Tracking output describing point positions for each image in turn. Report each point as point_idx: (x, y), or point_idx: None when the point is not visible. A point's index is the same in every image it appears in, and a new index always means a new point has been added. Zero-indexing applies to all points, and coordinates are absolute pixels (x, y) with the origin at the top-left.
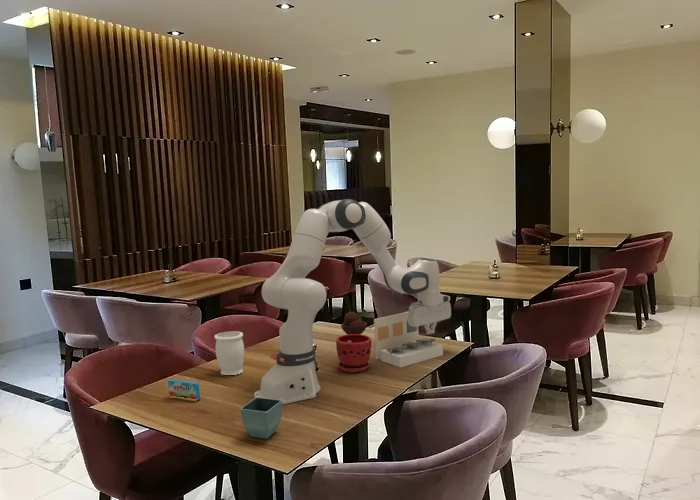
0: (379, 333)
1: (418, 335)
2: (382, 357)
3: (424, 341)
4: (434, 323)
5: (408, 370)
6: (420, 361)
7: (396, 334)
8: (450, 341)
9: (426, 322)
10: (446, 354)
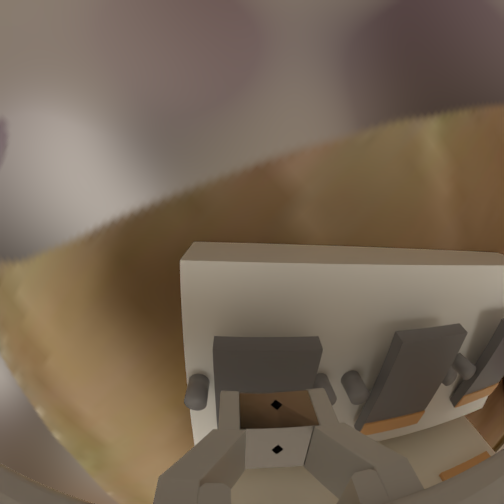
0: None
1: None
2: None
3: (312, 377)
4: (217, 501)
5: (501, 197)
6: (401, 248)
7: None
8: (22, 372)
9: (498, 479)
10: (164, 235)
